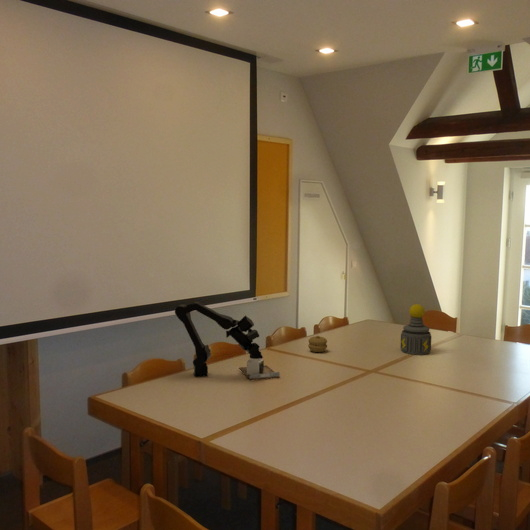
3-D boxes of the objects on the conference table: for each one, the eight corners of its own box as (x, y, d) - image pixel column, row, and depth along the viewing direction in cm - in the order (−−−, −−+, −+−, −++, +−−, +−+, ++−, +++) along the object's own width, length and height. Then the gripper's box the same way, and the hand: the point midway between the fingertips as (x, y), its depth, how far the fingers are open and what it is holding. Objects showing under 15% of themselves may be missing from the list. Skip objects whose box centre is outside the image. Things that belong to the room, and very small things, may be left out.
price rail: (250, 378, 292) (250, 374, 292) (249, 377, 294) (249, 374, 294) (279, 376, 297) (279, 372, 297) (278, 375, 299) (278, 371, 299)
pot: (306, 352, 351) (306, 336, 350) (310, 348, 362) (310, 333, 361) (325, 354, 347) (325, 338, 346) (328, 350, 358) (329, 334, 358)
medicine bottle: (259, 376, 297) (259, 353, 296) (246, 374, 300) (246, 352, 298) (263, 372, 304) (264, 350, 303) (251, 371, 306) (251, 349, 305)
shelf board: (250, 380, 292) (250, 378, 292) (238, 369, 313) (238, 367, 313) (279, 378, 297) (279, 376, 297) (266, 367, 318) (266, 365, 318)
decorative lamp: (393, 349, 361) (395, 302, 358) (417, 347, 369) (419, 301, 366) (413, 356, 344) (415, 307, 341) (437, 353, 352) (439, 305, 349)
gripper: (255, 328, 290) (275, 348, 294) (244, 322, 307) (263, 340, 312) (240, 345, 288) (261, 364, 293) (230, 337, 305) (249, 356, 310)
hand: (259, 355), depth 302 cm, fingers open, 9 cm apart
